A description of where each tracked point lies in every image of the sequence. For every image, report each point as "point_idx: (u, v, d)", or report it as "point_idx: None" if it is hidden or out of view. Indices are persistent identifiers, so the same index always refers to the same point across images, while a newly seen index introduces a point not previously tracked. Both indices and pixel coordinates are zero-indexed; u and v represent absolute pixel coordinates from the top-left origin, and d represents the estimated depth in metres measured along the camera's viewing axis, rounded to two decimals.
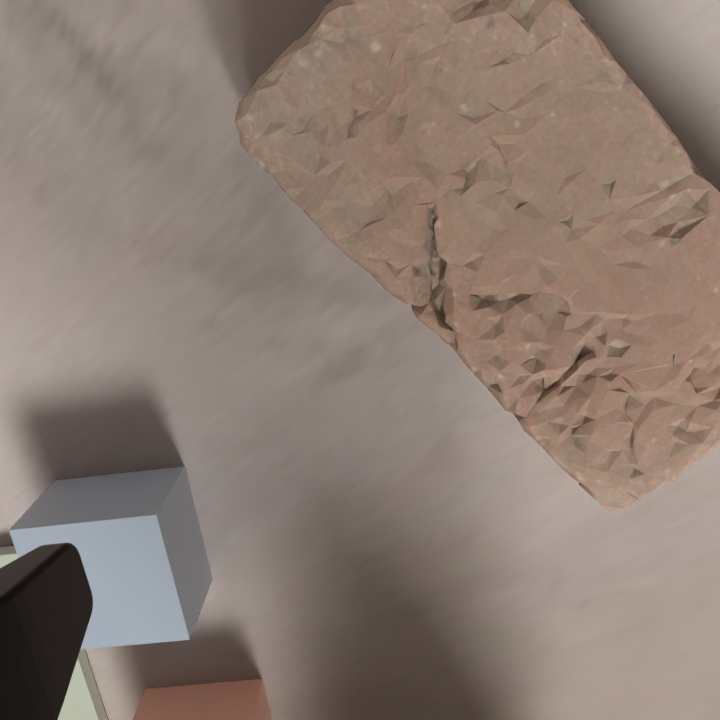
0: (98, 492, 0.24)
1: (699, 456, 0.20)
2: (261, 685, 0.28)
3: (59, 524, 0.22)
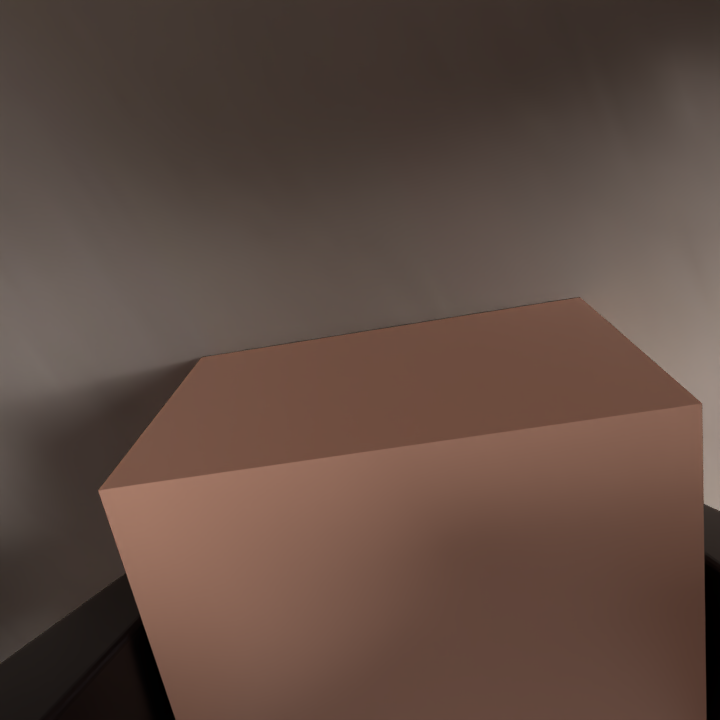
0: None
1: None
2: (199, 368, 0.09)
3: None
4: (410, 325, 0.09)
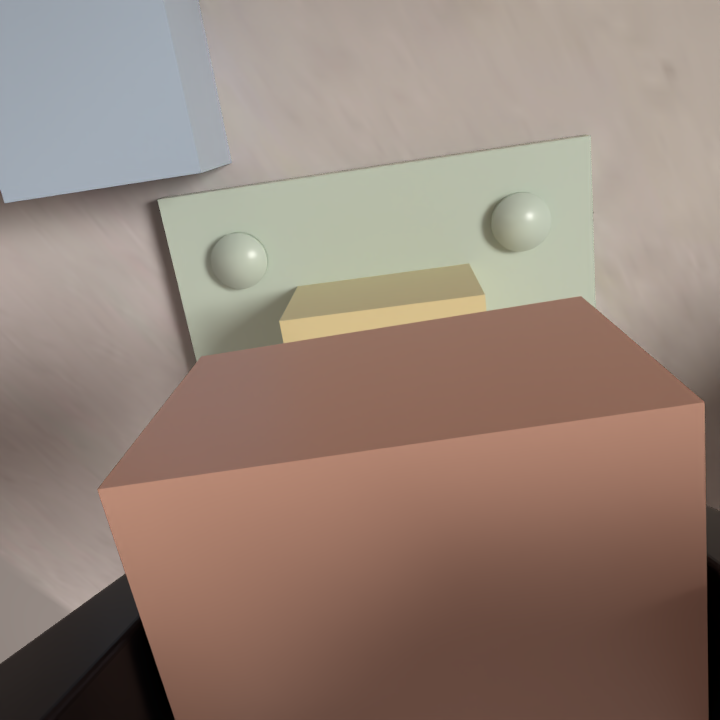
0: None
1: None
2: (199, 366, 0.09)
3: None
4: (411, 324, 0.09)
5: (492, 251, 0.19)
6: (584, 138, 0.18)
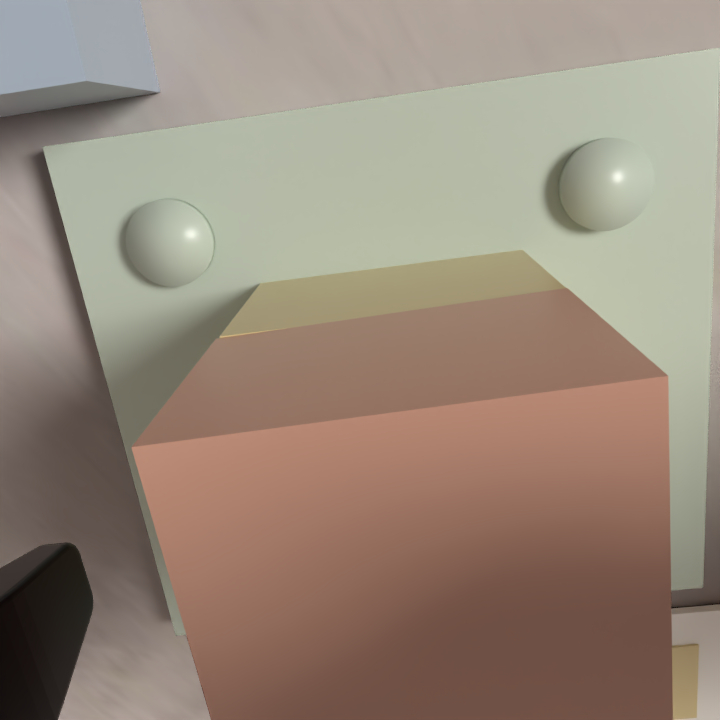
0: None
1: None
2: (215, 347, 0.09)
3: None
4: (410, 311, 0.09)
5: (559, 231, 0.13)
6: (711, 52, 0.12)
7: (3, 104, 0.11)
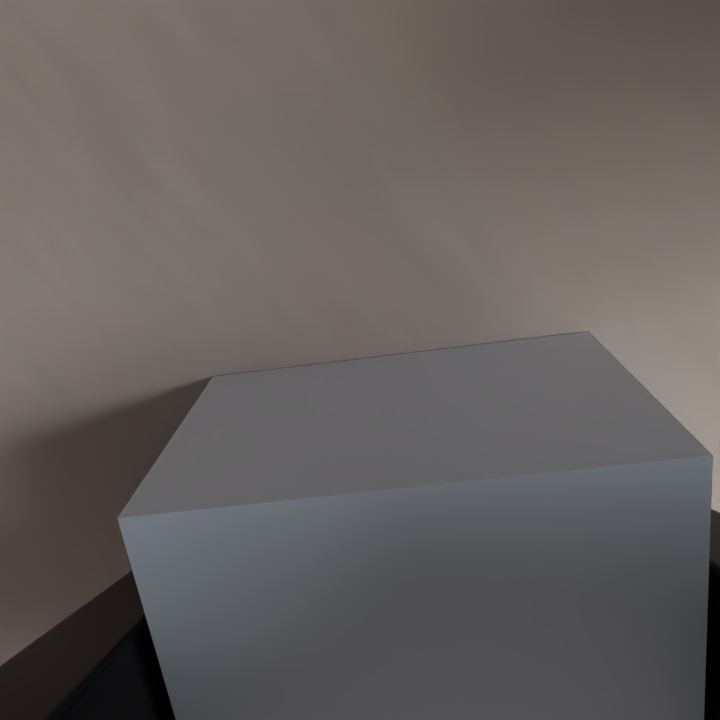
0: None
1: None
2: None
3: None
4: None
5: None
6: None
7: None
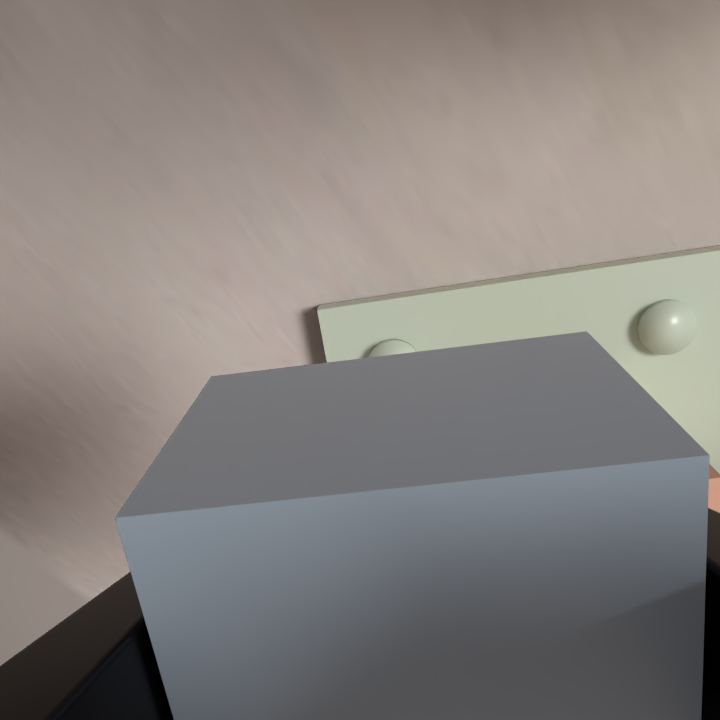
0: None
1: None
2: None
3: None
4: None
5: (637, 353, 0.20)
6: None
7: None
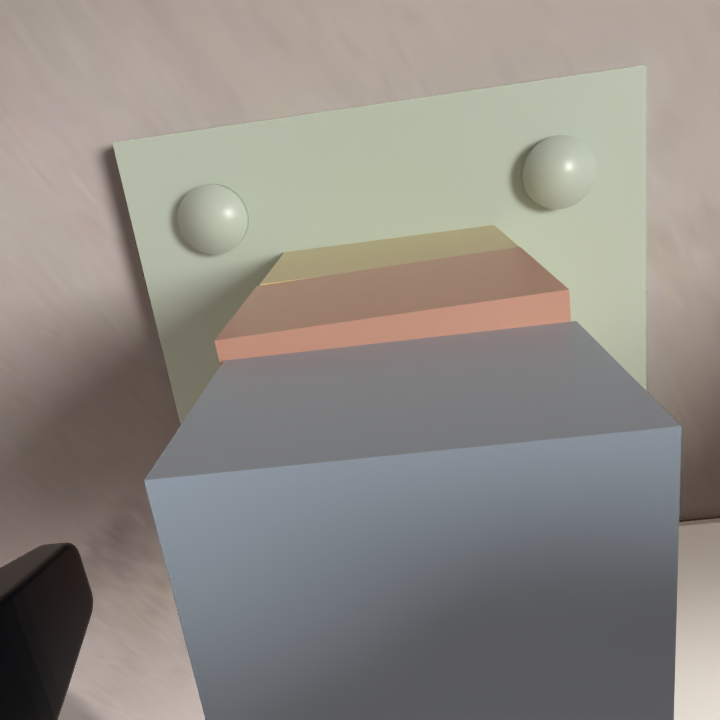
0: None
1: None
2: (257, 290, 0.13)
3: None
4: (403, 264, 0.13)
5: (522, 210, 0.16)
6: (639, 68, 0.15)
7: None
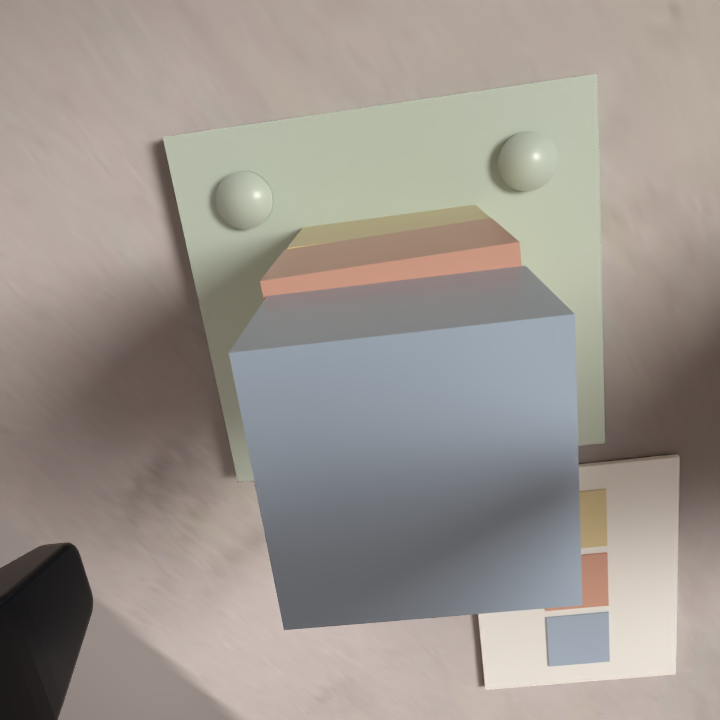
0: None
1: None
2: (286, 252, 0.16)
3: (267, 543, 0.11)
4: (400, 232, 0.16)
5: (498, 192, 0.19)
6: (591, 76, 0.18)
7: None
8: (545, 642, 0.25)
